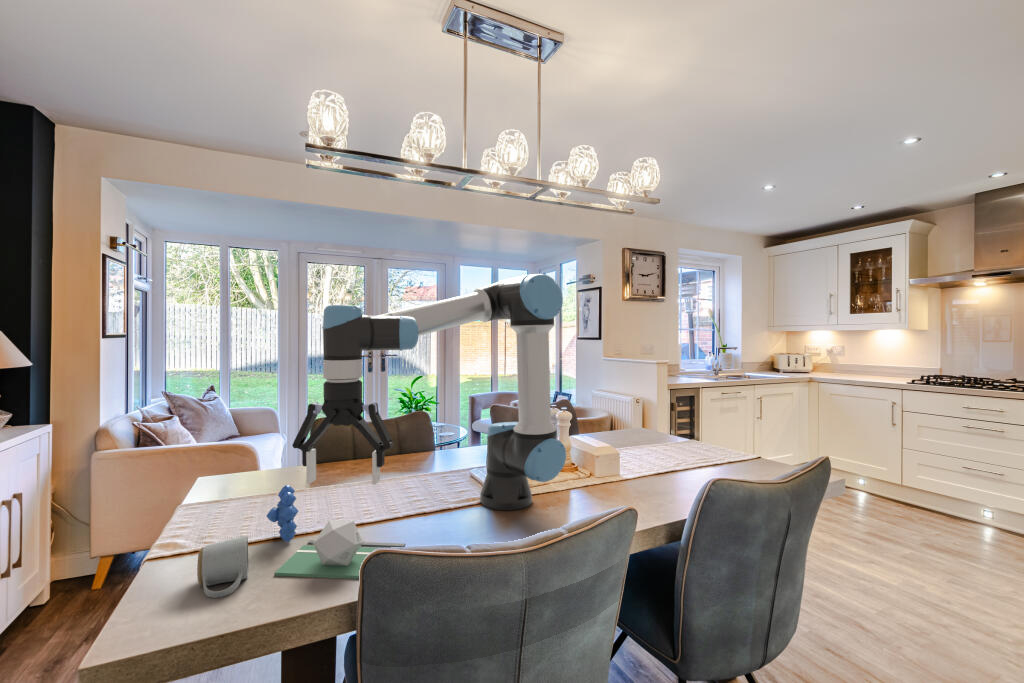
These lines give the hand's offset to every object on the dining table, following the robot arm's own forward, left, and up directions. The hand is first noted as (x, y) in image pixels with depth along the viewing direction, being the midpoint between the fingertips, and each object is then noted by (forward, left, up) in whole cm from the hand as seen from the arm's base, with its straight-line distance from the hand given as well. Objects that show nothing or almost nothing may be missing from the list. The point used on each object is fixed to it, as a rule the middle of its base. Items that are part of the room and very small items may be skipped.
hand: (343, 482), depth 95 cm
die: (+1, 0, -17) cm, 17 cm away
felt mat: (0, -1, -17) cm, 17 cm away
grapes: (+18, -11, -18) cm, 28 cm away
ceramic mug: (+19, +9, -18) cm, 27 cm away
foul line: (0, -9, -17) cm, 20 cm away
